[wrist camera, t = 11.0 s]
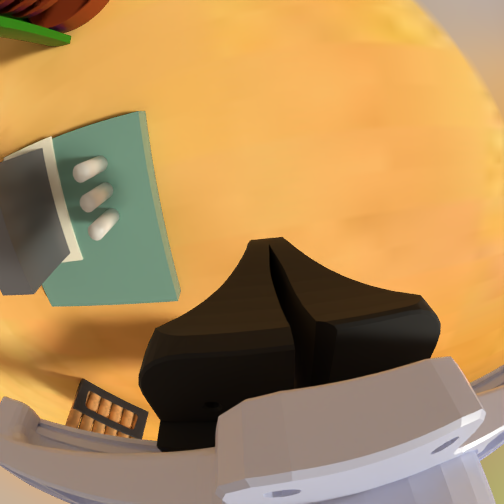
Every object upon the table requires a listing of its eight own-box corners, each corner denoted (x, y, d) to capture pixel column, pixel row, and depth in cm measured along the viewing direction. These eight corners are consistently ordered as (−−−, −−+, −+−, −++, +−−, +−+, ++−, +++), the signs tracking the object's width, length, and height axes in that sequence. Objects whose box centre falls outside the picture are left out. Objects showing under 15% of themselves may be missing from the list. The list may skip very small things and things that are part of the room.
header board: (180, 290, 24) (172, 324, 20) (58, 297, 24) (39, 325, 20) (144, 108, 17) (121, 108, 13) (12, 155, 17) (-21, 167, 13)
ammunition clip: (79, 382, 31) (55, 451, 20) (82, 377, 30) (56, 449, 20) (144, 415, 34) (131, 484, 24) (148, 412, 34) (136, 483, 23)
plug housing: (70, 252, 20) (33, 294, 15) (39, 257, 20) (3, 295, 14) (42, 147, 16) (-10, 166, 10) (11, 161, 16) (-37, 182, 10)
